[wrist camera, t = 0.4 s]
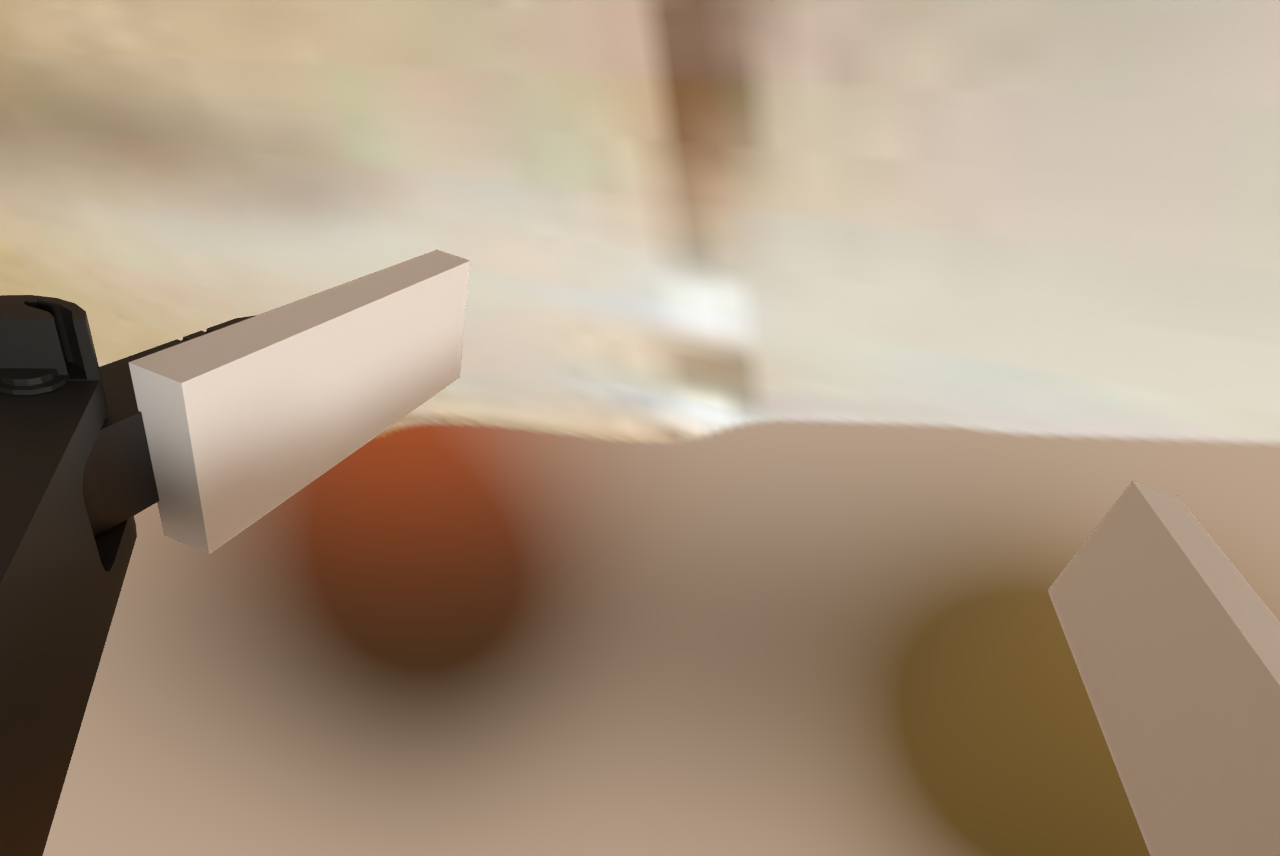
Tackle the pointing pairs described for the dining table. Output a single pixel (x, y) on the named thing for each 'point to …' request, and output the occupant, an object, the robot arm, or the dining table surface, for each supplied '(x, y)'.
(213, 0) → the dining table surface
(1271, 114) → the dining table surface
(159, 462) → the robot arm
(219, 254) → the dining table surface
